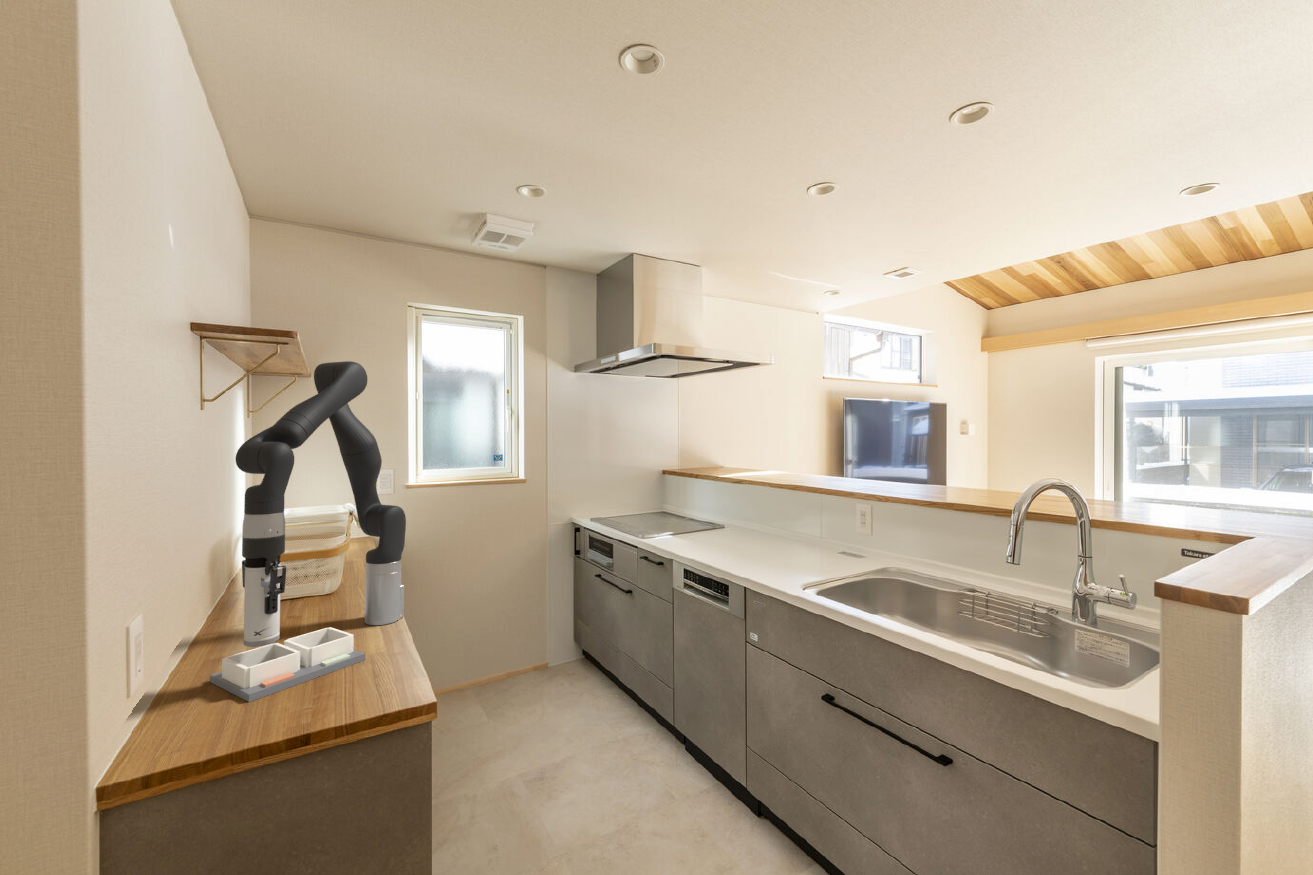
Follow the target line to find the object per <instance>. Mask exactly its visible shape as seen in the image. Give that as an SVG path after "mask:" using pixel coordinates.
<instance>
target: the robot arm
mask: <svg viewBox="0 0 1313 875" xmlns="http://www.w3.org/2000/svg"><path fill="white" fill-rule="evenodd" d="M313 381H314V386H315V389H316V391H317V394H315V395H313V396H311V397H309V398H307V399H305V400H303V401H302V402H299V403H297V404H295V405H294V406H293V407H292V408H291V409H289V410H288V411H287V412H285V413H284V414H283V415H282V416H280V418H279V420H277V421H276V422H275V423H274V424H273V425H272V426H269V427H268V428H266V429H264V430H262V431H261V432H258V433H256V434H255V435H254V436H252V437H250V438H249V439H247V440H246V441H245V442H243V443H242V444H241V446H240V447H239V448H238V449H237V452H236V453H235V454H236V455H235V464H236V466H237V468H238V469H239V470H240V471H241V472H244V473H247V474H253V475H263V478H262V480H261V483H260V484H257V485H256V484H255V485H252V486H249V487H247V488H246V489H245V493H244V505H243V506H244V510H243V511H244V512H243V513H244V514H243V520H242V521H243V522H242V533H241V534H242V536H241V537H242V539H241V541H242V542H241V544H242V545H241V548H242V549H241V556H242V557H243V558H244V560H242V561H241V574H242V575H241V577H242V588H244V589H245V570H246V569H245V563H246V562H245V558H249V559H259V558H265V559H266V560H267V561H265V574H266V575H267V576H268V575H270V581H269V582H266V581H265V580H264V579H263V578H261V587H264V594H265V610H264V613H265V614H267V615H269V614H273V613H276V612H277V611H278V595H279V594H280V595H281V594H283V593H285V589H286V580H287V579H286V577H287V566H286V565H280V566H278V561H277V557H278V556H279V555H281V556H282V555H284V554H285V552H286V517H285V516H286V515H285V494H286V490H287V487H288V484H289V481H290V478H291V475H292V472H293V469H294V464H295V453H294V451H293V450H294V449H295V450H296V449H297V448H299V447H302V445H304V443H305V442H306V441H307V440H308V439H309V438H310V437H311V436H312V435H313V433H314V432H315V431H316V430H318V428H319V427H320V426H321V425H322V424H324V422H326V421H327V420H329V421H330V422H329V423H330V424H331V427H332V431H333V432H334V436H335V438H336V441H337V446H338V448H339V453H340V455H341V459H342V462H343V465H344V468H345V470H346V473H347V477H348V480H349V484H350V487H351V490H352V494H353V499H354V503H355V504H354V505H355V508H356V509H355V510H356V514H357V519H358V523H359V527H360V528H361V531H362V533H364V534H365V535H366V536H370V537H375V538H379V539H378V545H377V546H376V547H375V548H373V549H369V550H368V551H367V552H366V553H365V575H364V576H365V581H364V582H365V584H364V585H365V586H364V587H365V588H364V589H365V590H364V592H365V593H364V623H365V624H366V625H369V626H380V625H381V626H383V625H388V624H392V623H395V622H398V621H399V620H400V619H403V618H404V616H405V614H404V613H405V612H404V610H405V609H404V607H405V604H404V603H405V585H404V584H402V554H403V551H404V548H405V542H406V541H405V540H406V529H407V519H406V512H405V511H404V509H403V508H402V507H400V506H399V505H390V504H382V503H381V500H380V498H379V495H378V490H377V482H378V478H379V475H380V472H381V469H382V463H383V460H382V456H381V453H380V449H379V445H378V442H377V439H376V437H375V436H374V434H373V433H372V432H371V431H370V430H369V428H368V427H367V426H366V425H364V423H363V422H361V421H360V420H359V418H357V416H355V414H354V412H352V409H351V407H350V405H349V403H350V402H351V401H353V400H354V399H355V398H357V397H358V396H360V395H361V394H362V393H363V392H364V391H365V389H366V387H367V386H368V374H367V370H365V368H364V367H363V366H362V365H361V364H360V363H359V362H355V361H349V360H348V361H346V360H345V361H335V362H334V361H333V362H324V363H323V362H322V363H319V364H318V365H317V366H316V367H315V369H314V371H313ZM270 571H271V573H270ZM269 573H270V574H269ZM279 583H280V588H279ZM268 585H270V587H268ZM400 614H401V615H402V617H401V616H400ZM397 620H398V621H397Z"/></svg>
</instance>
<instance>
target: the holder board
mask: <svg viewBox="0 0 1313 875" xmlns="http://www.w3.org/2000/svg"><path fill="white" fill-rule="evenodd" d="M354 645H355V635H354V633H350V632H347V631H344V630H340V629H337V628H335V627H331V626H330V627H325V628H322V629H318V630H315V631H311V632H307V633H304V634H301V635H297V636H294V637H289V638H287V639H286V640H283V644H282V643H279V642H274V643H271V644H268V645H264V646H258V647H254V648H252V649H249V650H246V651H242V652H239V653H235V654H232V655H228V656H225V657H223V658H221V671H218V672H216V673H215V672H214V673H213V674H210V675H209V682H210V684H213V685H216V686H217V687H219V688H221V689H223V690H225V691H227V692H228V693H230V694H232V695H235V696H236V697H238V698H240V699H242V700H244V701H246V702H248V703H251V702H254V701H256V700H258V699H262V698H264V697H265V698H266V697H267V696H269V695H273V694H275V693H279V692H280V691H283V690H286V689H289V688H292V687H295V686H297V685H300V684H303V683H306V682H309V681H311V680H314V679H316V678H320V677H322V676H324V675H327V674H330V673H333V672H336V671H338V670H341V669H345V668H347V667H349V666H352V665H355V664H357V663H360V662H363V661H365V660H366V653H365V652H362V651H359V650H356V649H354V647H355V646H354ZM319 676H320V677H319Z"/></svg>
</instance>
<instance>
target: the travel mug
mask: <svg viewBox="0 0 1313 875" xmlns="http://www.w3.org/2000/svg"><path fill="white" fill-rule="evenodd" d="M281 556H282V555H279V556H278V557H277V561H278V566H282V565H281V564H282V562H281ZM244 560H245V562H246V563H245V569H246V570H245V588H244V600H243V601H244V605H243V606H244V610H243V611H244V612H243V613H244V615H243V645H244V646H246V647H249V648H259V647H262V646H265V645H269V644H272V643H273V644H274V643H277V642H278V640H280V636H281V635H280V634H281V633H280V630H281V628H280V627H281V594H279V595H278V611H277V612H276V613H273V614H269V615H267V614H265V613H264V610H265V594H264V587H261V578H263V579H264V580H265V581H266V582H269V581H270V575H268V576H267V575H266V574H265V561H267V560H266V559H265V558H259V559H249V558H244ZM270 573H271V571H270ZM270 573H269V574H270ZM268 587H270V585H268ZM279 588H280V583H279Z"/></svg>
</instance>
